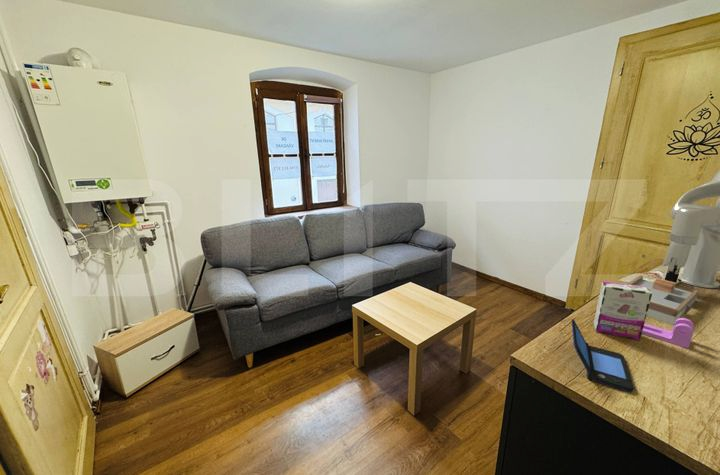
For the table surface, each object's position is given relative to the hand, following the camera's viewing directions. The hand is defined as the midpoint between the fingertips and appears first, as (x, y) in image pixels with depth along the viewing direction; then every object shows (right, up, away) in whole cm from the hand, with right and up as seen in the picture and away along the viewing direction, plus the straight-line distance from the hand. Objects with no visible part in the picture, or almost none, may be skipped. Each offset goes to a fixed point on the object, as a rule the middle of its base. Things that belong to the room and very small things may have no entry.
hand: (670, 281), depth 119 cm
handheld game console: (-61, -18, -38) cm, 74 cm away
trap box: (-15, -7, -8) cm, 18 cm away
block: (-7, -2, -4) cm, 9 cm away
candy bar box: (-44, -13, -24) cm, 52 cm away
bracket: (-32, -13, -26) cm, 43 cm away
